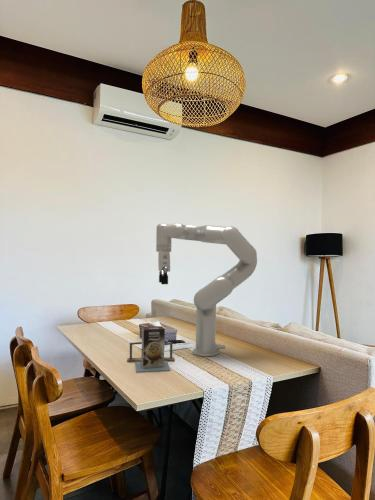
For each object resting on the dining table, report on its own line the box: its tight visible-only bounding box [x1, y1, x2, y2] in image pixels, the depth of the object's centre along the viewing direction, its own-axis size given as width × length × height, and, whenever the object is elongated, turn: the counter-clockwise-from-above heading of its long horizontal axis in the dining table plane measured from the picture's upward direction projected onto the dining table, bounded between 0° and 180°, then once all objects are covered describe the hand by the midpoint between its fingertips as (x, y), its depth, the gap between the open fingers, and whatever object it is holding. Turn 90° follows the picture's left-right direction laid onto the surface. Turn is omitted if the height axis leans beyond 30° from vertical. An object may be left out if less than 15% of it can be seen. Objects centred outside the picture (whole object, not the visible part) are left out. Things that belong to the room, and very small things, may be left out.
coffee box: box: [140, 325, 166, 368], centre depth 147 cm, size 9×6×16 cm
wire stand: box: [126, 341, 176, 363], centre depth 154 cm, size 21×4×8 cm, turn 95°
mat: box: [134, 361, 171, 373], centre depth 146 cm, size 14×12×1 cm
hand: (163, 283), depth 171 cm, fingers open, 9 cm apart
